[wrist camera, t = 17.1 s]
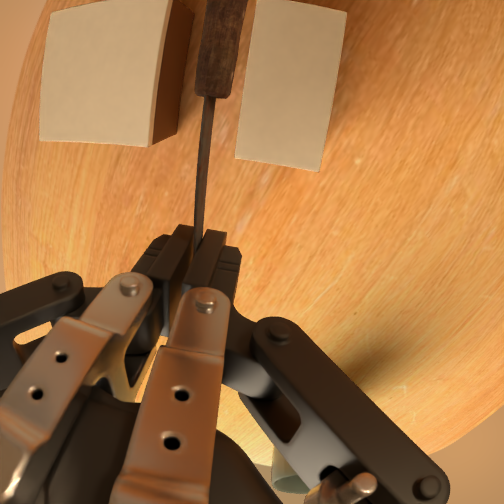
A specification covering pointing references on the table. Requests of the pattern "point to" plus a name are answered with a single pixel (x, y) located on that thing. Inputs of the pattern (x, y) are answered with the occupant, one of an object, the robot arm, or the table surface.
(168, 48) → the cake
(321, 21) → the slice
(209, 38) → the knife
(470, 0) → the table surface
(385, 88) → the table surface
